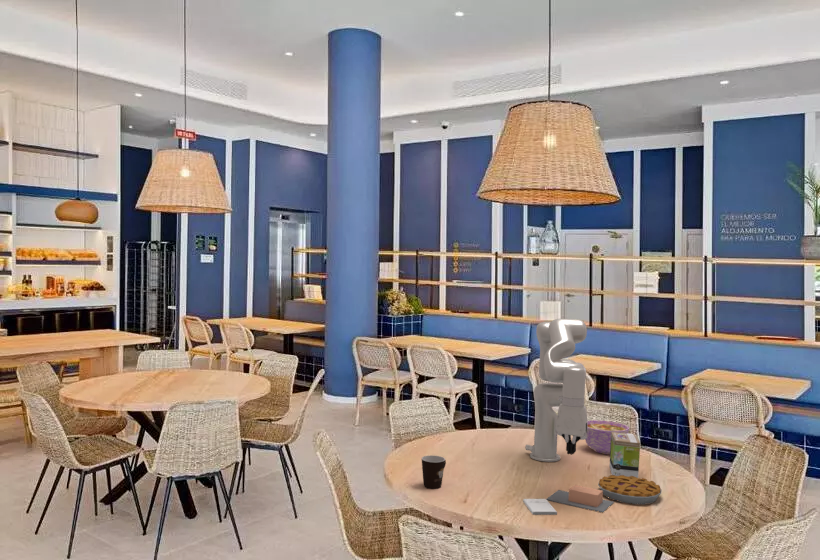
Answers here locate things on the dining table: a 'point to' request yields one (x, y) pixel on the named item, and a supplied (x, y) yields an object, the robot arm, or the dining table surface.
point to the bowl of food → (603, 434)
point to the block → (585, 495)
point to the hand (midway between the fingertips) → (570, 453)
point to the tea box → (624, 454)
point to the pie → (629, 489)
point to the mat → (564, 497)
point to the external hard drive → (539, 507)
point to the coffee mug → (433, 471)
